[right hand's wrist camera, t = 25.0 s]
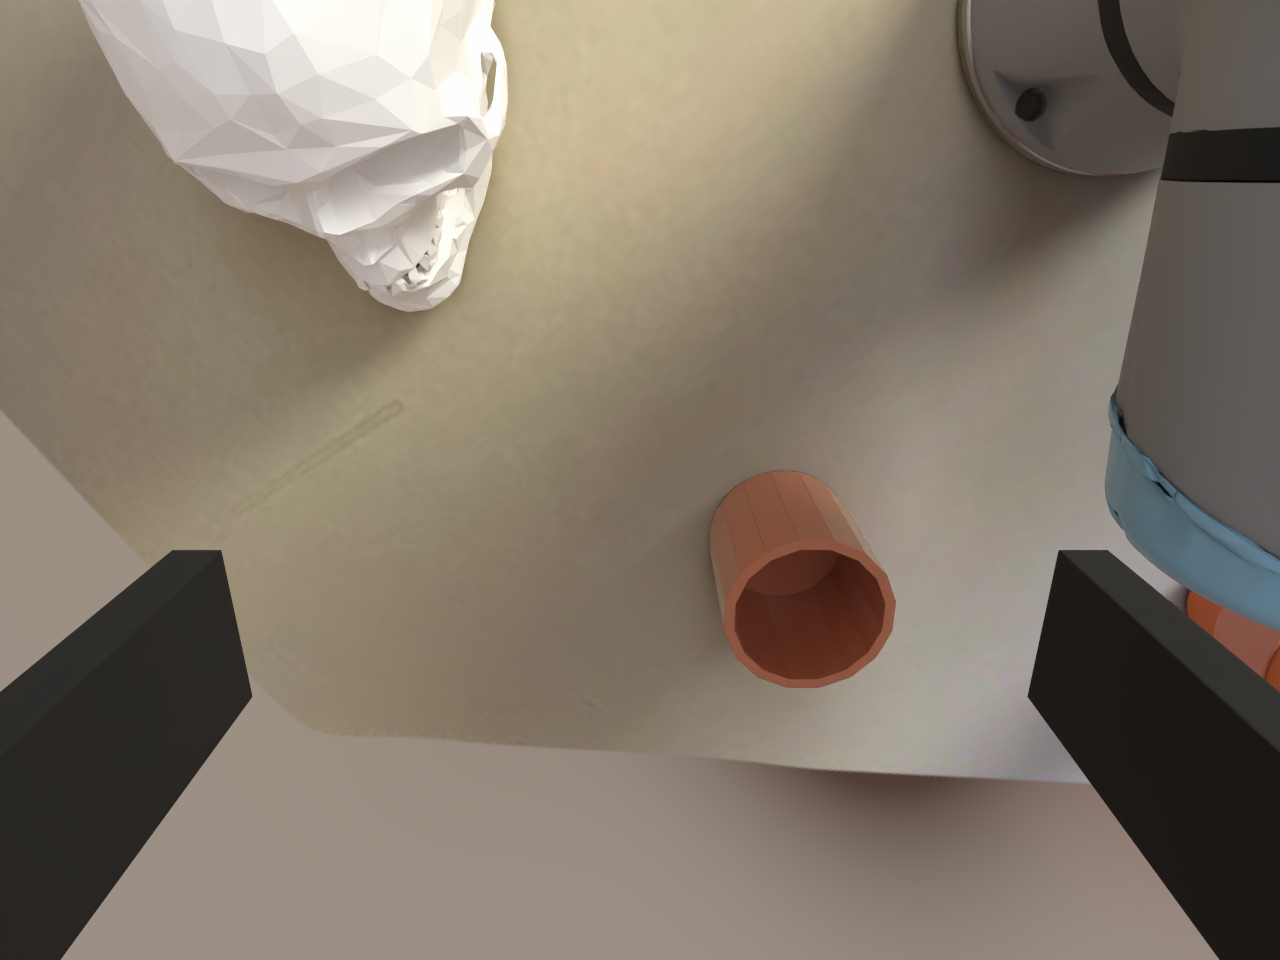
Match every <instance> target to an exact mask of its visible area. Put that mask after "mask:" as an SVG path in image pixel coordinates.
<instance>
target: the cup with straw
mask: <svg viewBox="0 0 1280 960" xmlns="http://www.w3.org/2000/svg"><path fill="white" fill-rule="evenodd" d="M1187 613H1188V617H1189V618H1190V619H1192V620H1193V621H1194V622H1195V623H1197V624H1198V625H1199V626H1200V627H1201V628H1203V629H1204V630H1205V631H1206V632H1207V633H1209V634H1210V635H1211V636H1212V637H1214V638H1215V639H1216V640H1217V641H1218V642H1220V643H1221V644H1222V645H1223V646H1224V647H1226V648H1227V649H1228V650H1229V651H1231V652H1232V653H1233V654H1234V655H1235V656H1237V657H1238V658H1239V659H1240V660H1242V661H1243V662H1244V663H1245V664H1246V665H1248V666H1249V667H1250V668H1251V669H1252V670H1254V671H1255V672H1256V673H1257V674H1259V675H1260V676H1261V677H1262V678H1263V679H1265V680H1266V681H1267V682H1268V683H1269V684H1271V685H1272V686H1273V687H1274V688H1276V689H1277V690H1278V691H1279V692H1280V632H1279V631H1276V630H1274V629H1271V628H1269V627H1267V626H1264V625H1261V624H1259V623H1256V622H1254V621H1251V620H1249V619H1246V618H1244V617H1242V616H1240V615H1238V614H1236V613H1234V612H1232V611H1229V610H1227V609H1225V608H1223V607H1221V606H1219V605H1217V604H1215V603H1213V602H1211V601H1209V600H1207V599H1206V598H1204V597H1202V596H1200V595H1198V594H1196V593H1195V592H1193V591H1191V590H1190V593H1189V596H1188V600H1187Z"/></svg>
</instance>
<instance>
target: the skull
mask: <svg viewBox="0 0 1280 960" xmlns="http://www.w3.org/2000/svg"><path fill="white" fill-rule="evenodd" d="M78 1H79V3H80V5H81V7H82V10H83V12H84V14H85V17H86V19H87V21H88V24H89V26H90V28H91V30H92V32H93V34H94V36H95V38H96V40H97V41H98V43H99V45H100V47H101V49H102V51H103V53H104V55H105V57H106V59H107V61H108V63H109V65H110V66H111V68H112V70H113V72H114V74H115V76H116V78H117V80H118V82H119V84H120V86H121V88H122V89H123V91H124V93H125V95H126V96H127V97H128V99H129V100H130V101H131V103H132V104H133V106H134V107H135V108H136V110H137V111H138V113H139V114H140V115H141V117H142V118H143V119H144V121H145V122H146V124H147V125H148V126H149V128H150V129H151V131H152V132H153V133H154V135H155V136H156V137H157V139H158V140H159V142H160V143H161V145H162V147H163V149H164V151H165V154H166V155H167V156H168V157H169V158H170V159H172V160H173V162H174V163H175V164H178V165H179V166H181V167H182V168H183V169H184V170H186V171H187V172H188V173H190V174H191V175H192V176H194V177H195V178H196V179H198V180H199V181H200V182H201V183H202V184H204V185H205V186H206V187H207V188H208V189H209V190H210V191H212V192H213V193H214V194H215V195H216V196H217V197H218V198H219V199H221V200H222V201H223V202H224V203H225V204H227V205H230V206H232V207H234V208H236V209H239V210H241V211H243V212H246V213H256V214H259V215H262V216H264V217H268V218H271V219H274V220H278V221H281V222H285V223H288V224H291V225H293V226H295V227H297V228H299V229H301V230H304V231H306V232H308V233H310V234H313V235H315V236H318V237H320V238H323V239H326V240H327V242H328V243H329V245H330V247H331V248H332V250H333V252H334V254H335V255H336V257H337V259H338V261H339V262H340V263H341V264H342V265H343V267H344V268H345V270H346V271H347V272H348V274H349V275H350V276H351V277H352V278H353V279H354V280H355V282H356V284H357V286H358V287H359V288H360V289H362V290H365V291H367V290H368V292H369V293H370V295H371V296H372V297H374V298H375V299H376V300H377V301H379V302H380V303H383V304H385V305H388V306H391V307H393V308H396V309H398V310H402V311H406V312H414V311H422V310H430V309H433V308H434V307H435V306H437V305H438V304H439V303H441V302H442V301H443V300H445V299H446V298H447V297H449V296H450V295H451V293H452V292H453V291H454V290H455V289H456V287H457V286H458V285H459V284H460V282H461V277H462V272H463V268H464V263H465V258H466V254H467V249H468V244H469V241H470V238H471V235H472V233H473V230H474V227H475V225H476V222H477V219H478V216H479V214H480V211H481V208H482V206H483V203H484V200H485V196H486V192H487V188H488V184H489V180H490V176H491V171H492V154H493V152H494V150H495V148H496V146H497V144H498V142H499V139H500V136H501V134H502V131H503V129H504V126H505V119H506V112H507V105H508V94H507V66H506V61H505V57H504V52H503V48H502V46H501V44H500V42H499V40H498V38H497V37H496V35H495V33H494V32H493V30H492V28H491V27H490V25H491V18H492V13H493V10H494V6H495V3H496V0H78ZM493 59H494V61H495V62H496V64H497V68H496V78H495V87H494V96H493V101H492V104H491V106H490V108H489V110H488V100H487V95H486V85H487V76H488V73H489V70H490V68H491V65H492V63H493ZM426 252H427V255H424V254H425V253H426ZM417 263H419V264H420V266H419V267H418V269H416V265H417ZM407 273H408V276H404V275H405V274H407Z"/></svg>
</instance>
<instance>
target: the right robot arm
mask: <svg viewBox="0 0 1280 960" xmlns="http://www.w3.org/2000/svg"><path fill="white" fill-rule="evenodd" d="M958 39H959V49H960V55H961V60H962V66H963V70H964V73H965V76H966V80H967V83H968V86H969V88H970V91H971V93H972V96H973V98H974V100H975V102H976V104H977V106H978V108H979V109H980V111H981V113H982V115H983V116H984V117H985V119H986V120H987V122H988V123H989V125H990V126H991V127H992V128H993V130H994V131H995V132H996V133H997V134H998V135H999V136H1000V137H1001V138H1002V139H1003V140H1004V141H1005V142H1006V143H1007V144H1008V145H1009V146H1010V147H1012V148H1013V149H1014V150H1016V151H1017V152H1018V153H1020V154H1021V155H1023V156H1024V157H1026V158H1028V159H1030V160H1032V161H1033V162H1035V163H1037V164H1040V165H1042V166H1045V167H1047V168H1050V169H1053V170H1057V171H1060V172H1064V173H1070V174H1076V175H1091V176H1118V175H1129V174H1135V173H1141V172H1145V171H1149V170H1153V169H1157V168H1160V167H1163V170H1162V175H1161V178H1163V179H1159V184H1158V190H1157V195H1156V200H1155V205H1154V210H1153V216H1152V221H1151V226H1150V231H1149V237H1148V242H1147V247H1146V252H1145V257H1144V263H1143V268H1142V273H1141V278H1140V283H1139V287H1138V292H1137V297H1136V302H1135V306H1134V311H1133V316H1132V321H1131V326H1130V330H1129V335H1128V340H1127V345H1126V349H1125V354H1124V359H1123V364H1122V369H1121V373H1120V378H1119V383H1118V385H1117V387H1116V389H1115V391H1114V393H1113V395H1112V396H1111V399H1110V403H1109V419H1110V425H1111V427H1112V434H1111V441H1110V448H1109V455H1108V462H1107V470H1106V477H1105V494H1106V500H1107V504H1108V507H1109V510H1110V512H1111V514H1112V516H1113V517H1114V519H1115V520H1116V522H1117V523H1118V525H1119V526H1120V527H1121V528H1122V529H1123V530H1124V531H1125V534H1126V537H1127V539H1128V540H1129V542H1130V543H1131V544H1132V545H1133V546H1134V547H1135V548H1136V549H1137V550H1138V551H1139V552H1140V553H1141V554H1142V555H1143V556H1144V557H1145V558H1146V559H1148V560H1149V561H1150V562H1151V563H1152V564H1153V565H1155V566H1156V567H1157V568H1158V569H1160V570H1161V571H1162V572H1164V573H1165V574H1167V575H1168V576H1169V577H1171V578H1172V579H1174V580H1175V581H1177V582H1178V583H1180V584H1181V585H1183V586H1185V587H1186V588H1188V589H1190V590H1191V591H1193V592H1195V593H1196V594H1198V595H1200V596H1202V597H1204V598H1206V599H1207V600H1209V601H1211V602H1213V603H1215V604H1217V605H1219V606H1221V607H1223V608H1225V609H1227V610H1229V611H1232V612H1234V613H1236V614H1238V615H1240V616H1242V617H1244V618H1246V619H1249V620H1251V621H1254V622H1256V623H1259V624H1261V625H1264V626H1267V627H1269V628H1271V629H1274V630H1276V631H1279V632H1280V0H959V6H958ZM251 698H252V693H251V688H250V683H249V679H248V674H247V669H246V664H245V660H244V655H243V650H242V646H241V641H240V636H239V631H238V627H237V622H236V617H235V613H234V608H233V603H232V599H231V594H230V589H229V584H228V580H227V575H226V570H225V566H224V561H223V556H222V552H221V550H172V551H171V552H170V553H168V554H167V555H166V556H165V557H164V558H162V559H161V560H160V561H159V562H158V563H156V564H155V565H154V566H153V567H151V568H150V569H149V570H148V571H147V572H145V573H144V574H143V575H142V576H141V577H139V578H138V579H137V580H136V581H135V582H133V583H132V584H131V585H130V586H128V587H127V588H126V589H125V590H124V591H122V592H121V593H120V594H119V595H117V596H116V597H115V598H114V599H113V600H111V601H110V602H109V603H108V604H107V605H105V606H104V607H103V608H102V609H100V610H99V611H98V612H97V613H96V614H94V615H93V616H92V617H91V618H90V619H88V620H87V621H86V622H85V623H83V624H82V625H81V626H80V627H79V628H77V629H76V630H75V631H74V632H73V633H71V634H70V635H69V636H68V637H66V638H65V639H64V640H63V641H62V642H60V643H59V644H58V645H57V646H56V647H54V648H53V649H52V650H51V651H49V652H48V653H47V654H46V655H45V656H43V657H42V658H41V659H40V660H39V661H37V662H36V663H35V664H34V665H32V666H31V667H30V668H29V669H28V670H26V671H25V672H24V673H23V674H21V675H20V676H19V677H18V678H17V679H15V680H14V681H13V682H12V683H11V684H9V685H8V686H7V687H6V688H5V689H3V690H2V691H1V692H0V960H61V958H62V957H63V956H64V954H65V953H66V951H67V950H68V949H69V947H70V946H71V945H72V943H73V942H74V940H75V939H76V938H77V936H78V935H79V934H80V932H81V931H82V929H83V928H84V927H85V925H86V924H87V923H88V921H89V920H90V919H91V917H92V916H93V914H94V913H95V912H96V910H97V909H98V908H99V906H100V905H101V903H102V902H103V901H104V899H105V898H106V897H107V895H108V894H109V892H110V891H111V890H112V888H113V887H114V886H115V884H116V883H117V881H118V880H119V879H120V877H121V876H122V875H123V873H124V872H125V870H126V869H127V868H128V866H129V865H130V864H131V862H132V861H133V860H134V858H135V857H136V855H137V854H138V853H139V851H140V850H141V849H142V847H143V846H144V844H145V843H146V842H147V840H148V839H149V838H150V836H151V835H152V834H153V832H154V831H155V829H156V828H157V827H158V825H159V824H160V823H161V821H162V820H163V818H164V817H165V816H166V814H167V813H168V812H169V810H170V809H171V807H172V806H173V805H174V803H175V802H176V801H177V799H178V798H179V796H180V795H181V794H182V792H183V791H184V790H185V788H186V787H187V786H188V784H189V783H190V781H191V780H192V779H193V777H194V776H195V774H196V773H197V772H198V770H199V769H200V768H201V766H202V765H203V764H204V762H205V761H206V759H207V758H208V757H209V755H210V754H211V753H212V751H213V750H214V748H215V747H216V746H217V744H218V743H219V742H220V740H221V739H222V737H223V736H224V735H225V733H226V732H227V731H228V729H229V728H230V727H231V725H232V724H233V722H234V721H235V720H236V718H237V717H238V716H239V714H240V713H241V712H242V710H243V709H244V707H245V706H246V705H247V703H248V702H249V701H250V699H251ZM1028 698H1029V699H1030V701H1031V702H1032V703H1033V705H1034V706H1035V707H1036V709H1037V710H1038V712H1039V713H1040V714H1041V716H1042V717H1043V718H1044V720H1045V721H1046V722H1047V724H1048V725H1049V727H1050V728H1051V729H1052V731H1053V732H1054V733H1055V735H1056V736H1057V738H1058V739H1059V740H1060V742H1061V743H1062V744H1063V746H1064V747H1065V749H1066V750H1067V751H1068V753H1069V754H1070V755H1071V757H1072V758H1073V760H1074V761H1075V762H1076V764H1077V765H1078V766H1079V768H1080V769H1081V770H1082V772H1083V773H1084V775H1085V776H1086V777H1087V779H1088V780H1089V781H1090V783H1091V784H1092V786H1093V787H1094V788H1095V790H1096V791H1097V792H1098V794H1099V795H1100V796H1101V798H1102V799H1103V801H1104V802H1105V803H1106V805H1107V806H1108V807H1109V809H1110V810H1111V812H1112V813H1113V814H1114V816H1115V817H1116V818H1117V820H1118V821H1119V823H1120V824H1121V825H1122V827H1123V828H1124V829H1125V831H1126V832H1127V834H1128V835H1129V836H1130V838H1131V839H1132V840H1133V842H1134V843H1135V844H1136V846H1137V847H1138V848H1139V850H1140V851H1141V853H1142V854H1143V855H1144V857H1145V858H1146V860H1147V861H1148V862H1149V864H1150V865H1151V866H1152V868H1153V869H1154V871H1155V872H1156V873H1157V874H1158V876H1159V877H1160V879H1161V880H1162V882H1163V883H1164V884H1165V886H1166V887H1167V888H1168V890H1169V891H1170V892H1171V894H1172V895H1173V897H1174V898H1175V899H1176V901H1177V902H1178V903H1179V905H1180V906H1181V907H1182V909H1183V910H1184V912H1185V913H1186V914H1187V916H1188V917H1189V919H1190V920H1191V921H1192V923H1193V924H1194V925H1195V927H1196V928H1197V929H1198V931H1199V932H1200V934H1201V935H1202V936H1203V938H1204V939H1205V940H1206V942H1207V943H1208V944H1209V946H1210V947H1211V949H1212V950H1213V951H1214V953H1215V954H1216V956H1217V957H1218V958H1219V960H1280V692H1279V691H1278V690H1277V689H1276V688H1274V687H1273V686H1272V685H1271V684H1269V683H1268V682H1267V681H1266V680H1265V679H1263V678H1262V677H1261V676H1260V675H1259V674H1257V673H1256V672H1255V671H1254V670H1252V669H1251V668H1250V667H1249V666H1248V665H1246V664H1245V663H1244V662H1243V661H1242V660H1240V659H1239V658H1238V657H1237V656H1235V655H1234V654H1233V653H1232V652H1231V651H1229V650H1228V649H1227V648H1226V647H1224V646H1223V645H1222V644H1221V643H1220V642H1218V641H1217V640H1216V639H1215V638H1214V637H1212V636H1211V635H1210V634H1209V633H1207V632H1206V631H1205V630H1204V629H1203V628H1201V627H1200V626H1199V625H1198V624H1197V623H1195V622H1194V621H1193V620H1192V619H1190V618H1189V617H1188V616H1187V615H1186V614H1184V613H1183V612H1182V611H1181V610H1180V609H1178V608H1177V607H1176V606H1175V605H1173V604H1172V603H1171V602H1170V601H1169V600H1167V599H1166V598H1165V597H1164V596H1163V595H1161V594H1160V593H1159V592H1158V591H1156V590H1155V589H1154V588H1153V587H1152V586H1150V585H1149V584H1148V583H1147V582H1146V581H1144V580H1143V579H1142V578H1141V577H1139V576H1138V575H1137V574H1136V573H1135V572H1133V571H1132V570H1131V569H1130V568H1129V567H1127V566H1126V565H1125V564H1124V563H1122V562H1121V561H1120V560H1119V559H1118V558H1116V557H1115V556H1114V555H1113V554H1112V553H1110V552H1109V551H1108V550H1059V552H1058V556H1057V561H1056V566H1055V570H1054V575H1053V580H1052V584H1051V589H1050V594H1049V599H1048V603H1047V608H1046V613H1045V617H1044V622H1043V627H1042V631H1041V636H1040V641H1039V646H1038V650H1037V655H1036V660H1035V664H1034V669H1033V674H1032V678H1031V683H1030V688H1029V693H1028Z"/></svg>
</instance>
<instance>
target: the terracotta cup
mask: <svg viewBox="0 0 1280 960" xmlns="http://www.w3.org/2000/svg"><path fill="white" fill-rule="evenodd" d="M710 555H711V561H712V566H713V572H714V577H715V583H716V588H717V594H718V599H719V605H720V610H721V616H722V622H723V627H724V632H725V635H726V637H727V639H728V641H729V644H730V646H731V648H732V651H733V653H734V655H735V657H736V658H737V659H738V660H739V661H740V662H741V663H742V664H743V665H745V666H746V667H747V668H748V669H749V670H750V671H751V672H752V673H754V674H755V675H756V676H757V677H759V678H761V679H764V680H767V681H770V682H773V683H775V684H778V685H781V686H784V687H788V688H819V687H823V686H826V685H829V684H832V683H835V682H838V681H841V680H844V679H847V678H849V677H851V676H853V675H854V674H855V673H857V672H858V671H859V670H861V669H862V668H863V667H864V666H866V665H867V664H868V663H870V662H871V661H872V660H874V659H875V657H877V655H878V653H879V652H880V650H881V649H882V647H883V645H884V644H885V642H886V640H887V639H888V637H889V636H890V634H891V632H892V628H893V620H894V613H895V605H896V601H895V598H894V595H893V592H892V589H891V586H890V583H889V580H888V577H887V575H886V573H885V571H884V570H883V568H882V566H881V565H880V563H879V561H878V560H877V558H876V556H875V555H874V553H873V551H872V550H871V548H870V546H869V545H868V543H867V541H866V540H865V538H864V536H863V535H862V533H861V531H860V530H859V528H858V526H857V525H856V523H855V521H854V520H853V518H852V516H851V515H850V513H849V511H848V510H847V508H846V506H845V505H844V504H843V503H842V502H841V501H840V499H839V498H838V496H837V495H836V494H835V493H834V492H833V490H832V489H830V488H829V487H828V486H827V485H826V484H824V483H823V482H821V481H820V480H818V479H816V478H814V477H812V476H809V475H806V474H803V473H799V472H793V471H774V472H768V473H764V474H760V475H757V476H755V477H752V478H750V479H748V480H746V481H744V482H743V483H741V484H739V485H738V486H737V487H736V488H734V489H733V490H732V491H731V492H730V493H729V494H728V495H727V496H726V497H725V498H724V499H723V501H722V502H721V503H720V505H719V507H718V508H717V510H716V512H715V514H714V517H713V519H712V523H711V527H710Z"/></svg>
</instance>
